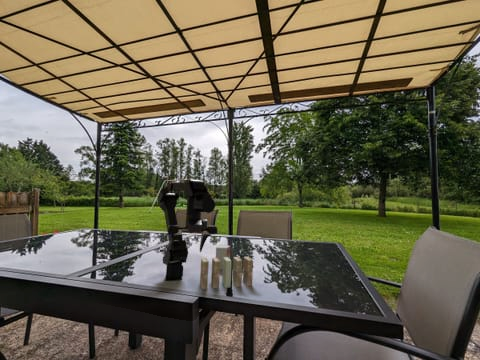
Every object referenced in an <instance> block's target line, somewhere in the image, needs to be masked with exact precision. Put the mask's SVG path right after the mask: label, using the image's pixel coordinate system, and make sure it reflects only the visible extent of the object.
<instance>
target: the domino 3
mask: <svg viewBox="0 0 480 360" xmlns="http://www.w3.org/2000/svg"><path fill="white" fill-rule="evenodd" d="M221 274H222V276H221V283H222V285H223V286H224V288H225V289H226V288H231V282H232V260H231V258H230V259H229V258H228V257H223V270H222V272H221Z"/></svg>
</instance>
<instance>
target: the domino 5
mask: <svg viewBox="0 0 480 360" xmlns="http://www.w3.org/2000/svg"><path fill="white" fill-rule="evenodd" d="M253 268H254V259H252V258H251V257H250V256H243V262H242V282H243V283H244V284H245V286H247V287H253V278H254V277H253V276H254V275H253V273H254V269H253Z"/></svg>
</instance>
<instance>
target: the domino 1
mask: <svg viewBox="0 0 480 360" xmlns="http://www.w3.org/2000/svg"><path fill="white" fill-rule="evenodd" d="M200 260H201V261H200V275H199V277H200V278H199V286H200V288H201V290H208V284H209V260H208V259H207V257H201V259H200Z"/></svg>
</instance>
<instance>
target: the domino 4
mask: <svg viewBox="0 0 480 360" xmlns="http://www.w3.org/2000/svg"><path fill="white" fill-rule="evenodd" d="M232 261H233V262H232V283H233V284H234V286H235V287H236V288H241V287H242V284H243V283H242V282H243V259H241V258H240V257H239V256H233V260H232Z"/></svg>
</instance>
